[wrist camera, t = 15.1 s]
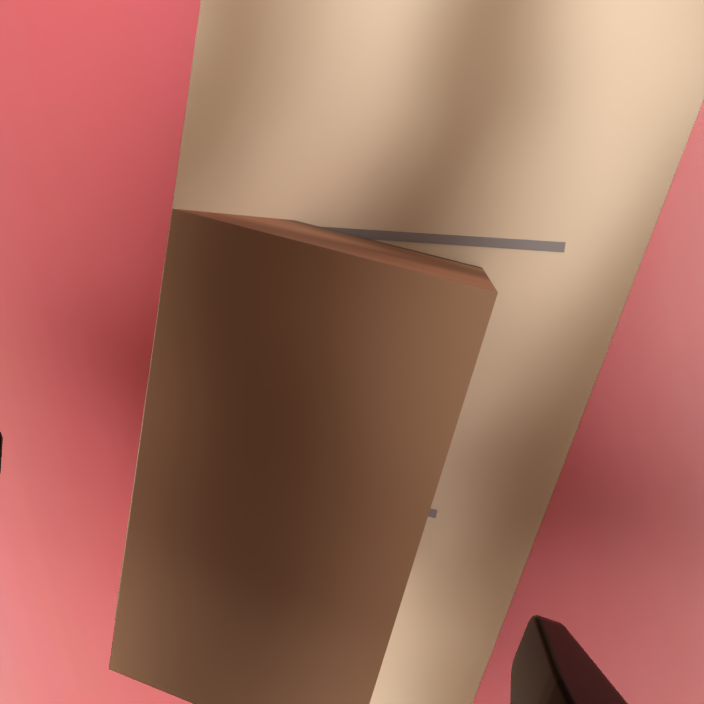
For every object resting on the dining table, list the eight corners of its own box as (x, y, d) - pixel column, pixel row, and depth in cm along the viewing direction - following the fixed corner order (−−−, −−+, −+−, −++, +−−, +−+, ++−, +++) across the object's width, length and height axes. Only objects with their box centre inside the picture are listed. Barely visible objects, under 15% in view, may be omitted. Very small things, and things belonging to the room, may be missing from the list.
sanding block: (481, 267, 13) (497, 292, 7) (392, 567, 15) (349, 767, 9) (294, 220, 14) (172, 208, 8) (236, 513, 16) (108, 669, 10)
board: (733, -20, 11) (758, -44, 10) (453, 724, 17) (453, 754, 16) (236, -101, 13) (217, -128, 12) (132, 600, 19) (114, 621, 18)
